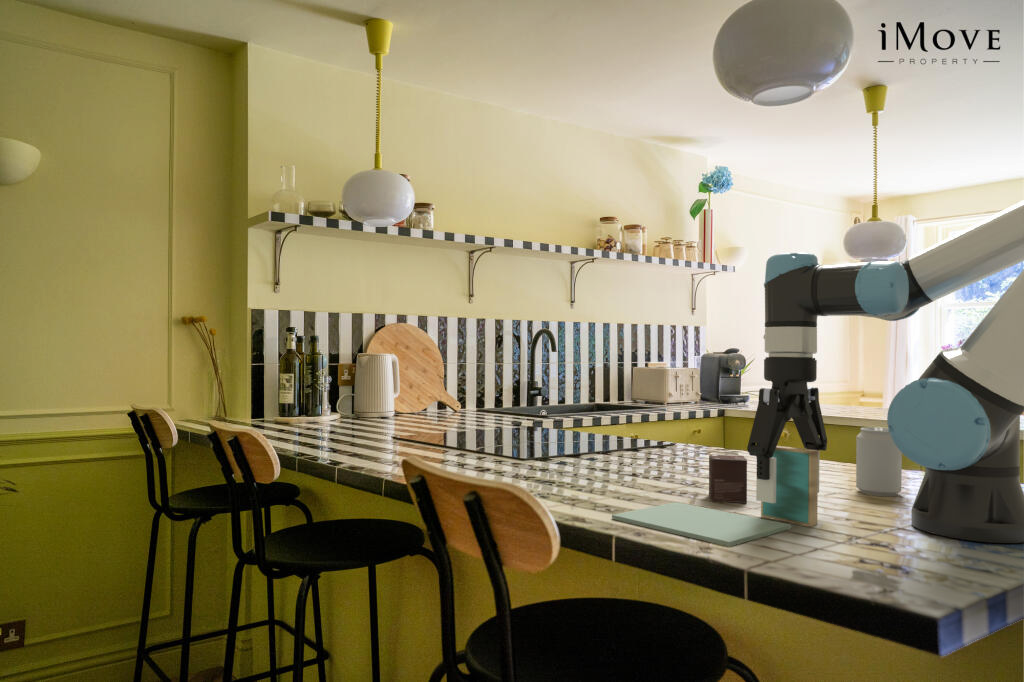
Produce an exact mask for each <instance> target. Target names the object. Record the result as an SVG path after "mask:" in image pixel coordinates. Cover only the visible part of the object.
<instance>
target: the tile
mask: <svg viewBox="0 0 1024 682" xmlns="http://www.w3.org/2000/svg"><path fill="white" fill-rule="evenodd" d="M772 457H773V458H776V503H768V502H762V501H760V517H761V516H762V517H761V518H765V517H767V518H766V519H770V518H773V519H772V520H775V519H778V520H777V521H781V520H782V521H781V522H786V523H787V522H788V523H791V522H792V523H791V524H798V525H801V526H806V527H813V526H816V525H818V503H819V502H818V494H819V493H818V450H810V449H805V448H802V447H791V446H781V445H777V446H776V449H775V451H774V454H773V456H772Z"/></svg>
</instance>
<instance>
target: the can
mask: <svg viewBox="0 0 1024 682" xmlns="http://www.w3.org/2000/svg"><path fill="white" fill-rule="evenodd" d="M859 430H860V432H859V433H858V434H857V435H856V441H855V442H856V453H855V454H856V455H855V456H856V461H855V462H856V463H855V465H856V467H855V470H856V471H855V472H856V473H855V476H856V477H855V478H856V480H855V481H856V482H855V483H856V484H855V487H856V488H857V489H858V490H859V491H860V492H861V493H863V494H864V495H867V496H876V497H895V496H897V495H898V494H899V493H901V492H902V482H903V481H902V478H903V477H902V474H903V473H902V470H903V469H902V468H903V467H902V465H903V464H902V463H903V460H902V457H903V456H902V455H903V454H902V452H901V451H900V450H899V449H898V448H897V447H896V445H895V444H894V442H893V440H892V438H891V436H890V433H889V429H888V427H881V426H879V427H878V426H876V427H861V428H860V429H859Z"/></svg>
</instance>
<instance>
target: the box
mask: <svg viewBox="0 0 1024 682" xmlns="http://www.w3.org/2000/svg"><path fill="white" fill-rule="evenodd" d="M708 496H709V499H710V501H711V502H720V503H721V502H723V503H724V502H725V503H739V504H740V503H743V504H744V503H745V504H747V502H748V497H747V496H748V460H747V459H746V458H745V457H744V455H725V454H709V455H708Z"/></svg>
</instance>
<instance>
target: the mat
mask: <svg viewBox="0 0 1024 682" xmlns="http://www.w3.org/2000/svg"><path fill="white" fill-rule="evenodd" d="M611 519H612V520H615V521H620V522H624V523H628V524H632V525H635V526H640V527H646V528H649V529H653V530H657V531H660V532H661V531H662V532H667V533H669V534H673V535H674V534H675V535H679V536H683V537H688V538H691V539H696V540H700V541H705V542H708V543H713V544H715V545H716V544H717V545H720V546H725V547H732V546H736V544H737V545H740V544H742V543H747V542H749V541H753V540H757V539H760V538H763V537H767V536H772V535H774V534H777V533H782V532H784V531H788V530H791V529H792V523H791V524H790V523H787V522H786V523H784V522H778V521H774V520H769V519H765V518H759V517H754V516H749V515H743V514H740V513H739V514H738V513H733V512H730V511H724V510H719V509H715V508H714V509H713V508H708V507H702V506H699V505H698V506H697V505H693V504H688V503H684V502H677V501H674V502H669V503H664V504H660V505H654V506H649V507H644V508H639V509H634V510H630V511H624V512H620V513H619V512H618V513H615V514H612V515H611Z"/></svg>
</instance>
